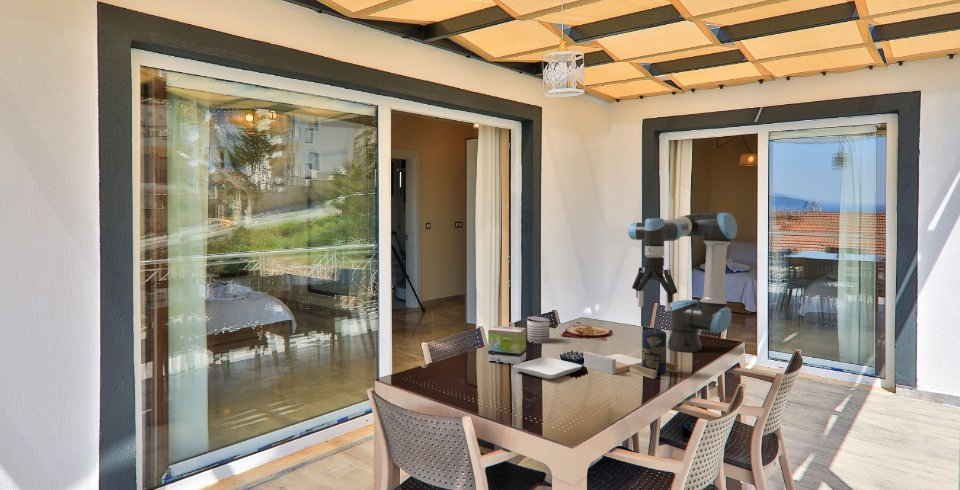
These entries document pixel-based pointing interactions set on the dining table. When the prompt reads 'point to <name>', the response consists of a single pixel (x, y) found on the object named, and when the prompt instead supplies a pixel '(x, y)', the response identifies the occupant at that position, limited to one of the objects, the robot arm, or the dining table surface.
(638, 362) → the board
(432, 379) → the dining table surface
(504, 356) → the tea box
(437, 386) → the dining table surface
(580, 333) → the plate with food
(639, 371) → the rails
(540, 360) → the salad plate
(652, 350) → the canister
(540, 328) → the can
